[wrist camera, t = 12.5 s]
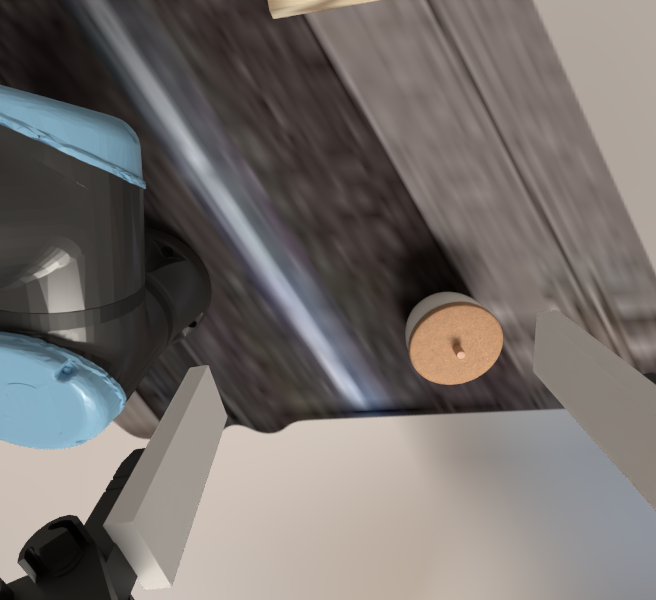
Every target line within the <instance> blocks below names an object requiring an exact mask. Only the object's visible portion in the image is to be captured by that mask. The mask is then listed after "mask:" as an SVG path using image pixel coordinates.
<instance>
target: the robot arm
mask: <svg viewBox="0 0 656 600" xmlns="http://www.w3.org/2000/svg"><path fill="white" fill-rule="evenodd" d="M143 189H146V183H145V182H144V181H143V177H142V162H141V148H140V142H139V139H138V137H137V135H136V133H135V132H134V130H133V129H132V128H131V127H130V126H129V125H128V124H127V123H126V122H124V121H123V120H121V119H119V118H116V117H114V116H111V115H107V114H104V113H100V112H97V111H93V110H90V109H86V108H83V107H79V106H76V105H72V104H69V103H65V102H62V101H58V100H54V99H51V98H47V97H43V96H40V95H36V94H32V93H29V92H25V91H22V90H18V89H14V88H10V87H7V86H3V85H0V440H3V441H6V442H9V443H12V444H15V445H19V446H24V447H30V448H37V449H63V448H70V447H74V446H77V445H80V444H83V443H85V442H87V441H88V440H91V439H92V438H94V437H96V436H97V435H98V434H100V433H101V432H102V431H103V430H104V429H105V428H106V427H107V426H108V425H109V423H110V422H111V421H112V420H113V419H114V418H115V417H116V416H117V415H119V414H120V413H121V411H122V410H123V409H124V406H125V405H126V402H127V400H128V399H129V397H130V396H131V395H132V393H133V392H134V390H135V389H136V388H137V386H138V385H139V383H140V382H141V381H142V379H143V378H144V376H145V375H146V374H147V372H148V371H149V369H150V368H151V367H152V365H153V364H154V362H155V361H156V360H157V358H158V357H159V355H160V354H161V353H162V351H163V350H164V349H165V348H167V347H169V346H171V345H173V344H175V343H177V342H179V341H181V340H183V339H184V338H186V337H187V336H189V335H190V334H191V333H192V332H193V331H194V330H195V329H196V328H197V327H198V326H199V324H200V323H201V321H202V320H203V318H204V317H205V315H206V313H207V311H208V309H209V306H210V302H211V284H210V280H209V276H208V274H207V271H206V269H205V267H204V265H203V264H202V262H201V260H200V259H199V258H198V256H197V255H196V254H195V253H194V252H193V251H192V250H191V249H190V248H189V247H188V246H187V245H186V244H184V243H183V242H182V241H180V240H179V239H177V238H176V237H174V236H172V235H170V234H168V233H165V232H163V231H159V230H156V229H151V228H144V194H143ZM533 372H534V373H535V374H536V375H537V377H538V378H539V379H540V380H541V381H542V382H543V383H544V384H545V386H546V387H547V388H548V389H549V390H550V391H551V392H552V394H553V395H554V396H555V397H556V398H557V399H558V400H559V402H560V403H561V404H562V405H563V406H564V407H565V408H566V409H567V411H568V412H569V413H570V414H571V415H572V416H573V417H574V419H576V421H577V422H578V423H579V424H580V425H581V427H582V428H583V429H584V430H585V431H586V432H587V433H588V435H589V436H590V437H591V438H592V439H593V440H594V441H595V442H596V444H597V445H599V447H600V448H601V449H602V450H603V451H604V453H605V454H606V455H607V456H608V457H609V458H610V460H611V461H612V462H613V463H614V464H615V465H616V466H617V467H618V469H619V470H620V471H621V472H622V473H623V474H624V475H625V477H626V478H627V479H628V480H629V481H630V482H631V483H632V484H633V486H634V487H635V488H636V489H637V490H638V491H639V493H640V494H641V495H642V496H643V497H644V498H645V499H646V500H647V502H648V503H649V504H650V505H651V506H652V507H653V508H654V509H655V511H656V374H655V373H647V374H641V373H640V372H638V371H637V370H636V369H634V368H633V367H632V366H630V365H629V364H628V363H626V362H625V361H624V360H622V359H621V358H620V357H619V356H617V355H616V354H615V353H613V352H612V351H611V350H609V349H608V348H607V347H605V346H604V345H603V344H601V343H600V342H599V341H597V340H596V339H595V338H594V337H592V336H591V335H590V334H588V333H587V332H586V331H584V330H583V329H582V328H580V327H579V326H578V325H576V324H575V323H574V322H572V321H571V320H570V319H569V318H567V317H566V316H565V315H563V314H562V313H561V312H559V311H558V310H553V311H546V312H540V313H537V319H536V334H535V348H534V363H533ZM226 420H227V415H226V412H225V409H224V407H223V404H222V401H221V399H220V396H219V393H218V390H217V388H216V385H215V382H214V380H213V377H212V374H211V371H210V369H209V366H208V365H205V366H199V367H192V368H190V369H189V370H188V372H187V374H186V376H185V378H184V380H183V381H182V383H181V385H180V387H179V389H178V390H177V392H176V394H175V396H174V398H173V399H172V401H171V403H170V405H169V407H168V408H167V410H166V412H165V414H164V416H163V418H162V419H161V421H160V423H159V425H158V427H157V428H156V430H155V432H154V434H153V436H152V437H151V439H150V441H149V443H148V445H147V447H146V448H142V449H136V450H134V451H133V452H132V453H131V454H130V455H129V456H128V457H127V458H126V459H125V460H124V461H123V462H122V463H121V465H120V467H119V468H118V470H117V471H116V473H115V475H114V476H113V480H111V482H110V483H109V485H108V486H107V488H106V492H104V493H103V495H102V497H101V498H100V500H99V502H98V503H97V505H96V506H95V508H94V510H93V511H92V513H91V515H90V517H89V518H88V520H87V521H86V523H85V525H83V524H82V522H81V521H80V520H79V518H78V517H77V516H73V515H67V516H63V517H59V518H57V519H55V520H53V521H51V522H49V523H47V524H46V525H45V526H43V527H42V528H41V529H39V530H38V531H37V532H36V533H35V534H34V535H33V536H32V537H31V538H30V539H29V540H28V541H27V542H26V544H25V545H24V547H23V548H22V550H21V552H20V554H19V558H18V564H19V565H20V566H21V567H22V568H23V570H24V571H25V572H26V573H27V574H28V575H27V576H25V577H22V578H20V579H17V580H15V581H13V582H10V583H8V584H6V583H5V582H4V581H3V580H2V579H1V578H0V600H134V598H133V597H132V595H131V591H132V588H133V586H134V584H135V581H136V579H138V580H139V582H140V583H141V585H142V586H143V588H144V589H145V590H150V589H159V588H166V587H172V585H173V582H174V579H175V576H176V572H177V569H178V566H179V563H180V560H181V557H182V554H183V551H184V548H185V545H186V542H187V539H188V536H189V533H190V530H191V527H192V523H193V520H194V517H195V514H196V511H197V508H198V505H199V502H200V499H201V496H202V493H203V490H204V487H205V484H206V480H207V478H208V475H209V471H210V468H211V465H212V462H213V459H214V456H215V453H216V450H217V447H218V444H219V441H220V438H221V434H222V432H223V429H224V426H225V423H226Z"/></svg>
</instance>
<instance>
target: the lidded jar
mask: <svg viewBox="0 0 656 600" xmlns="http://www.w3.org/2000/svg"><path fill="white" fill-rule="evenodd" d="M405 337H406V344H407V348H408V351H409V356H410V359H411V362H412V364H413V366H414V368H415V369H416V370H417V371H418V373H419V374H420V375H422V376H423V377H424V378H426V379H428V380H430V381H433V382H435V383H440V384H448V385H451V384H460V383H465V382H468V381H470V380H473V379H475V378H477V377H479V376H480V375H482V374H483V373H485V372H486V371H487V370H488V369H489V368H490V367H491V366H492V365H493V364H494V362H495V361H496V360H497V358H498V356H499V354H500V352H501V349H502V344H503V333H502V329H501V326H500V324H499V322H498V321H497V319H496V318H495V317H494V316H493V315H492V314H491V313H490V312H489V311H488V310H487V309H485V308H484V307H483V306H482V305H481V304H480V303H478V302H477V301H475V300H474V299H472V298H471V297H468V296H466V295H464V294H461V293H456V292H440V293H435V294H433V295H430V296H428V297H426V298H424V299H423V300H421V301H420V302H419V303H418V304H417V305H416V306H415V307H414V308H413V310H412V311H411V313H410V315H409V317H408V320H407V323H406V331H405Z"/></svg>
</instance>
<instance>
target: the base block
mask: <svg viewBox="0 0 656 600" xmlns="http://www.w3.org/2000/svg"><path fill="white" fill-rule="evenodd" d="M372 1H378V0H268V5H269V10H270V12H271V15H272V17H273V19H276V18H282V17H287V16H293V15H299V14H304V13H310V12H316V11H321V10H327V9H332V8H338V7H344V6H349V5H355V4H361V3H366V2H372Z"/></svg>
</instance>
